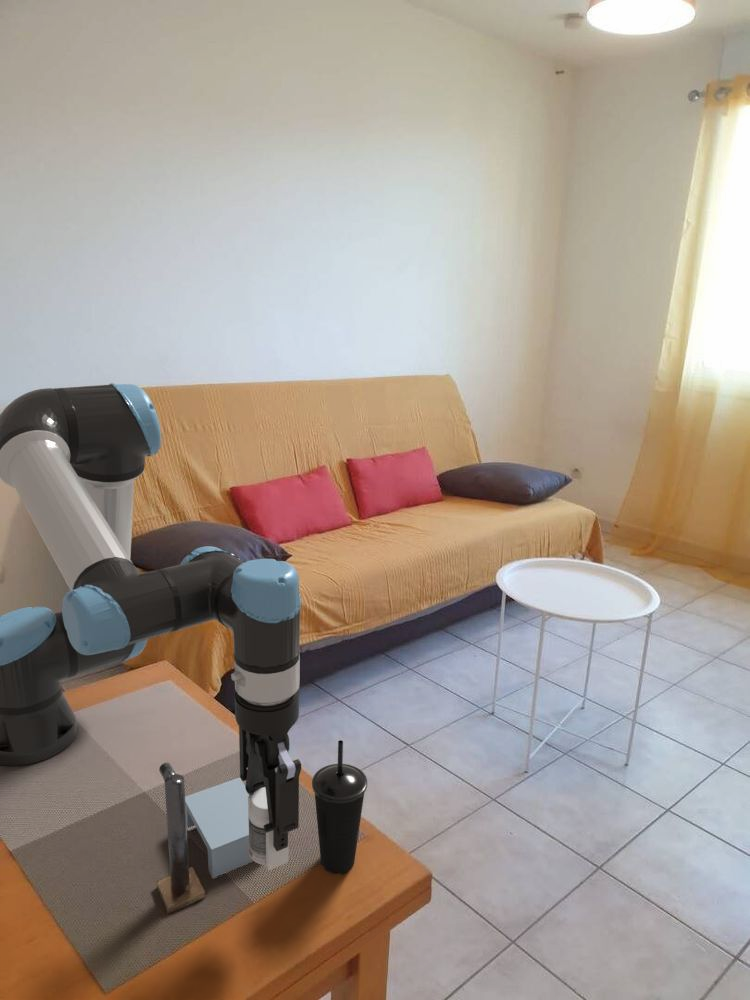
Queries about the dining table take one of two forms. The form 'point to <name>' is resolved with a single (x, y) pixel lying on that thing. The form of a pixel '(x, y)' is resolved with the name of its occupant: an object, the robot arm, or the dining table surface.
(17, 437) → the robot arm
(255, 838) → the pill bottle
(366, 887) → the dining table surface
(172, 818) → the hook post
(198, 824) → the light blue boxy piece
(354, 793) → the drinking cup
